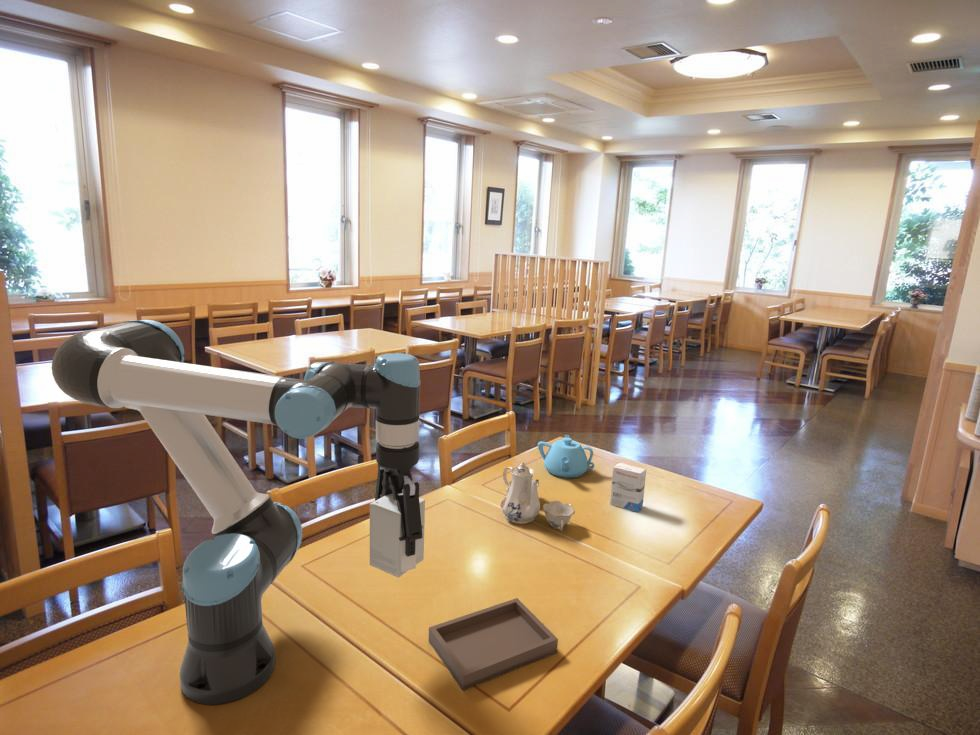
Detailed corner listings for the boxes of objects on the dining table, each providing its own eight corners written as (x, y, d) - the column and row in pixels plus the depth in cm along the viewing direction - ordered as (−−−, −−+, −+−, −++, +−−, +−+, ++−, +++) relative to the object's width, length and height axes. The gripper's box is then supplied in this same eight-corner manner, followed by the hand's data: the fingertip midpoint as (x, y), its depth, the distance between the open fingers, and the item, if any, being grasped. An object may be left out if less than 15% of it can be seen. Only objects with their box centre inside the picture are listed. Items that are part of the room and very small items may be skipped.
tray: (462, 690, 101) (463, 675, 100) (428, 641, 113) (428, 627, 112) (556, 652, 111) (557, 638, 110) (516, 610, 123) (517, 597, 122)
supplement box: (399, 579, 105) (399, 514, 102) (368, 565, 109) (368, 502, 106) (425, 560, 111) (426, 499, 108) (395, 548, 115) (395, 488, 112)
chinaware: (583, 535, 158) (593, 476, 155) (535, 545, 148) (544, 483, 145) (520, 494, 180) (528, 442, 177) (475, 501, 170) (482, 446, 168)
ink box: (643, 506, 172) (647, 468, 169) (637, 512, 168) (641, 474, 165) (615, 498, 176) (619, 461, 173) (609, 504, 172) (612, 466, 169)
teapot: (529, 468, 195) (531, 436, 192) (565, 457, 206) (567, 427, 203) (563, 485, 184) (566, 451, 181) (599, 472, 194) (602, 440, 192)
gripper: (444, 460, 97) (441, 581, 102) (394, 420, 115) (394, 524, 120) (401, 467, 93) (400, 593, 98) (357, 425, 111) (358, 532, 117)
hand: (397, 555), depth 109 cm, fingers closed on supplement box, 9 cm apart
